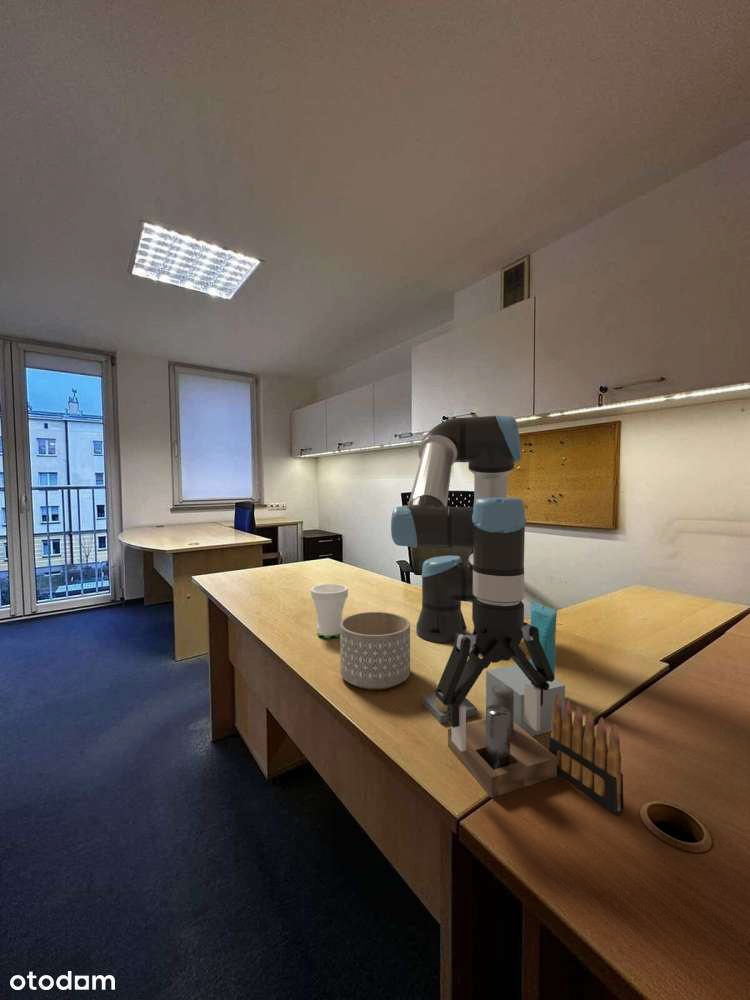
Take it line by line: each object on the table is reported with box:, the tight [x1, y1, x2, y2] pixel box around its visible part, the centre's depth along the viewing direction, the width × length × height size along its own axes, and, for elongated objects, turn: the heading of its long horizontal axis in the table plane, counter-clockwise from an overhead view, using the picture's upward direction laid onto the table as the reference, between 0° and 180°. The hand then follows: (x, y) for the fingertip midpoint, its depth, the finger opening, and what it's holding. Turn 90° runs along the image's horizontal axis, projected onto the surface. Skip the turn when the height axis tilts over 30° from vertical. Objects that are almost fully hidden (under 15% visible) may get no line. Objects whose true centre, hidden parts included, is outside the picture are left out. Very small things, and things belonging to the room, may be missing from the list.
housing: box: [485, 664, 566, 737], centre depth 75 cm, size 10×10×8 cm
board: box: [420, 679, 478, 725], centre depth 79 cm, size 8×8×6 cm
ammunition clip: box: [548, 694, 625, 817], centre depth 58 cm, size 11×2×12 cm, turn 29°
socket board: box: [447, 684, 558, 799], centre depth 63 cm, size 12×12×10 cm
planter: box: [339, 611, 411, 691], centre depth 92 cm, size 16×16×13 cm
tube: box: [529, 600, 558, 680], centre depth 84 cm, size 7×5×19 cm, turn 26°
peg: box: [485, 705, 511, 770], centre depth 60 cm, size 4×4×10 cm
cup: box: [310, 583, 349, 640], centre depth 118 cm, size 11×11×14 cm
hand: (496, 735), depth 60 cm, fingers open, 13 cm apart
